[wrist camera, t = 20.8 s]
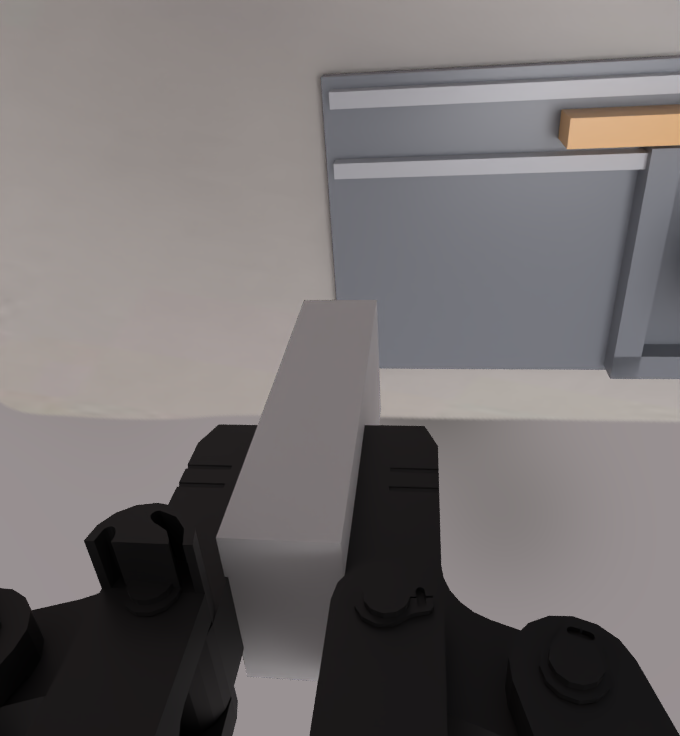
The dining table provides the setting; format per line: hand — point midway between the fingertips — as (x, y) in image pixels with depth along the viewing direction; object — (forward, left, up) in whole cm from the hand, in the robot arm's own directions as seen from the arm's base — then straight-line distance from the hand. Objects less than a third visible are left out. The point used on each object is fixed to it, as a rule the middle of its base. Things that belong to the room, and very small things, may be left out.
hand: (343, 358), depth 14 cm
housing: (-4, +12, -24) cm, 28 cm away
